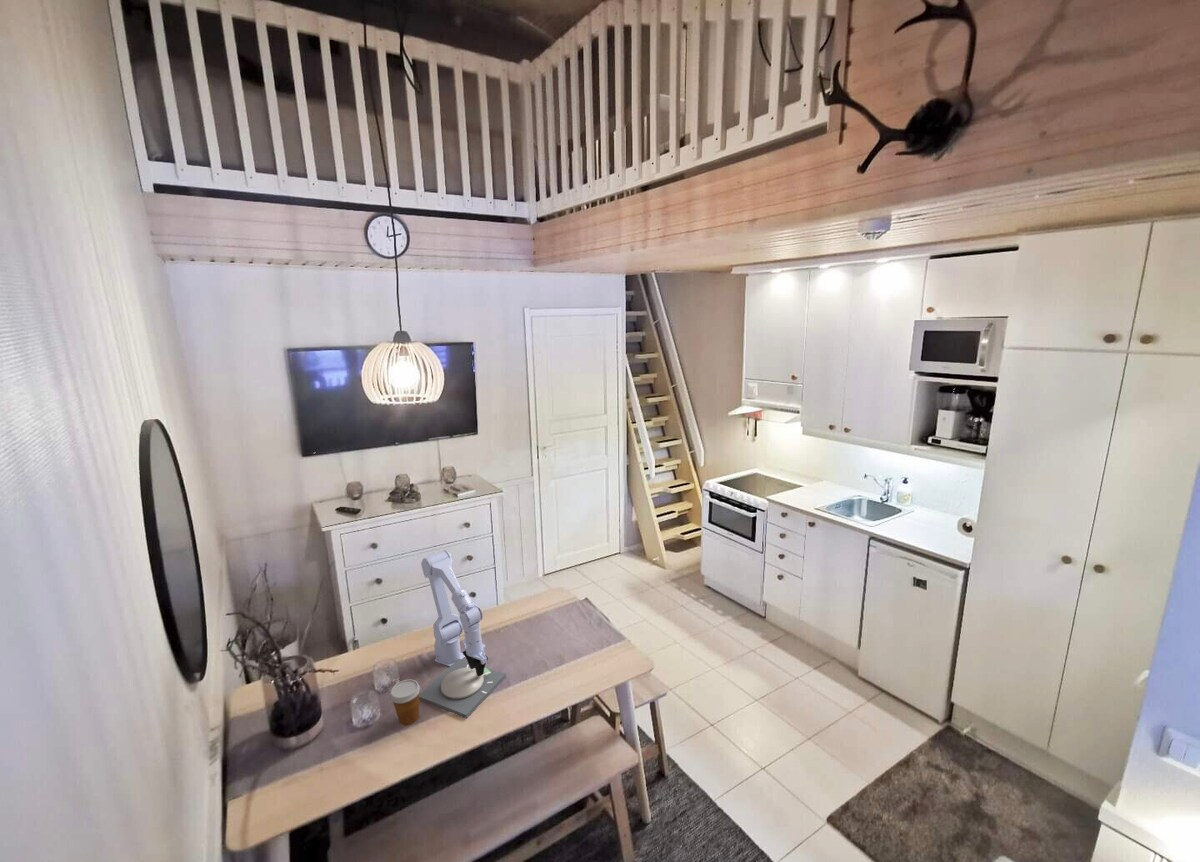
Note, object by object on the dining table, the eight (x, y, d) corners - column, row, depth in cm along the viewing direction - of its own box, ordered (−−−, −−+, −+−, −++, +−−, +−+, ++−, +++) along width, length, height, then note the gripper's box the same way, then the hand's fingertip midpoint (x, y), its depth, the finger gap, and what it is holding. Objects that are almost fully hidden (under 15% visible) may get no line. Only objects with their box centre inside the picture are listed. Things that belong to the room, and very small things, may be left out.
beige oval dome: (444, 704, 183) (442, 689, 181) (438, 677, 196) (436, 663, 195) (495, 687, 190) (493, 673, 188) (485, 663, 203) (484, 649, 202)
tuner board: (417, 699, 188) (417, 695, 188) (459, 661, 207) (459, 657, 207) (466, 718, 178) (466, 714, 178) (506, 677, 197) (505, 673, 197)
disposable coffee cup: (396, 734, 173) (391, 702, 170) (392, 714, 181) (387, 684, 179) (426, 722, 177) (422, 691, 175) (421, 704, 186) (417, 674, 183)
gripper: (493, 642, 189) (496, 675, 193) (473, 625, 200) (477, 657, 203) (475, 651, 185) (479, 685, 188) (456, 633, 196) (460, 665, 199)
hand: (476, 671), depth 195 cm, fingers open, 5 cm apart
